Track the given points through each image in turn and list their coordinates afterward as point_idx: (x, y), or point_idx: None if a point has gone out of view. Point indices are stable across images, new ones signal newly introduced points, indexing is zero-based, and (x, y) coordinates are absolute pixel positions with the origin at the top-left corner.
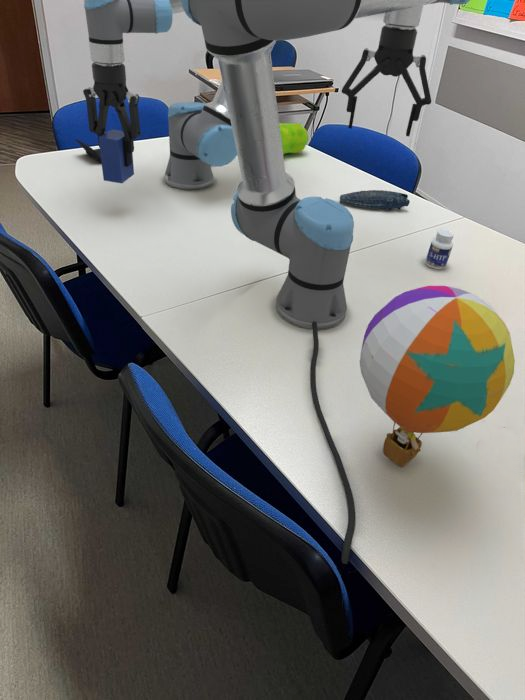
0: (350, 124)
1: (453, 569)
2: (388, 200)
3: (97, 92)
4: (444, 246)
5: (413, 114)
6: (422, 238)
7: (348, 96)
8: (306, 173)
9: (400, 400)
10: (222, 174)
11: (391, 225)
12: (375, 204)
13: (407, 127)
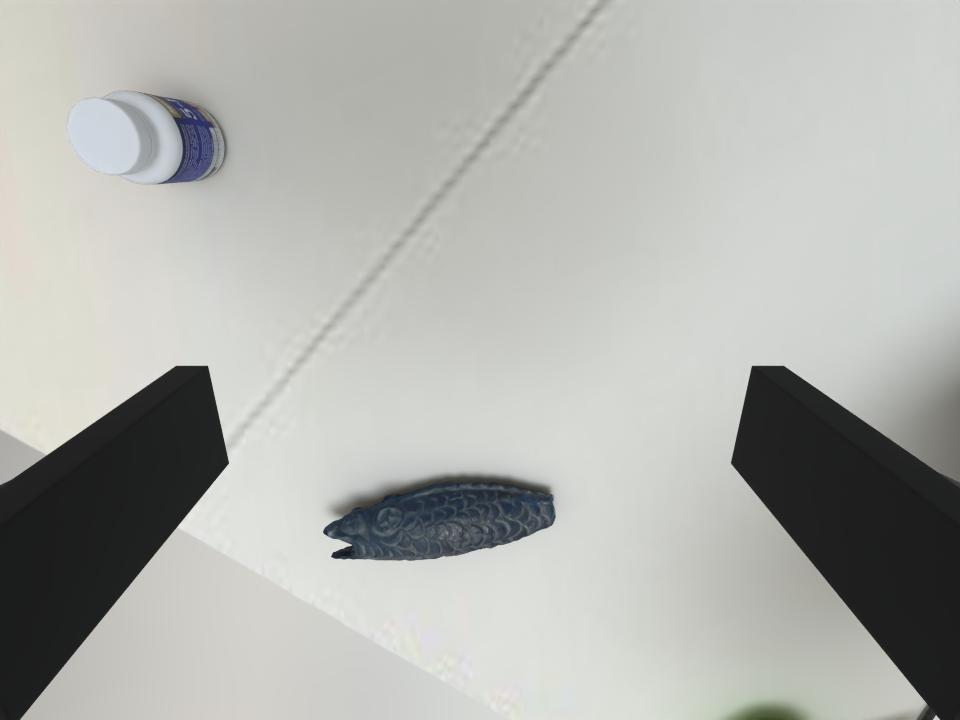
0: (790, 379)
1: None
2: (393, 510)
3: None
4: (116, 93)
5: (12, 490)
6: (261, 337)
7: None
8: (662, 657)
9: None
10: None
11: (371, 396)
12: (435, 493)
13: (195, 474)
